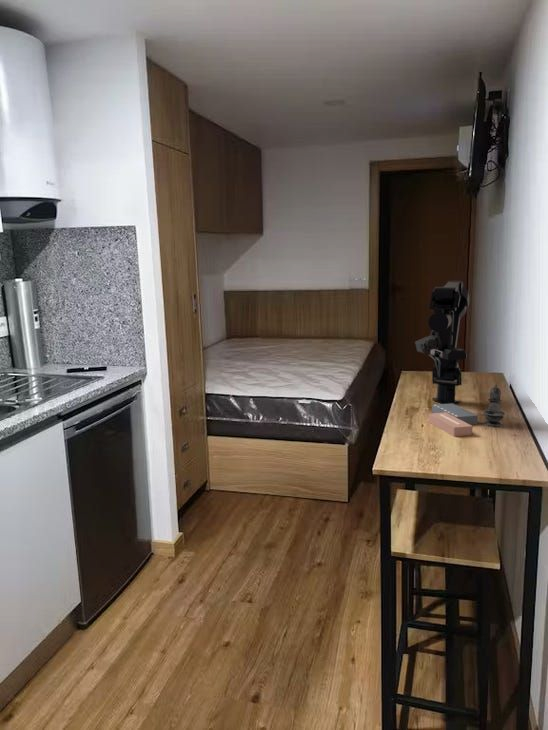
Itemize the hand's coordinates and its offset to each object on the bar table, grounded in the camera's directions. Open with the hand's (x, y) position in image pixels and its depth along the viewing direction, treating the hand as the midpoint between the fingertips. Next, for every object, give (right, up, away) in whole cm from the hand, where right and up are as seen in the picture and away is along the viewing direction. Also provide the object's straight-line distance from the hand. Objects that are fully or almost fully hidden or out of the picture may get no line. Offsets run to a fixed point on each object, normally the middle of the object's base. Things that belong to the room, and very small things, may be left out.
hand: (440, 377), depth 176 cm
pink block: (-2, -14, -15) cm, 21 cm away
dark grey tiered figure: (+12, -14, -12) cm, 22 cm away
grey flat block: (+2, -12, -5) cm, 14 cm away
